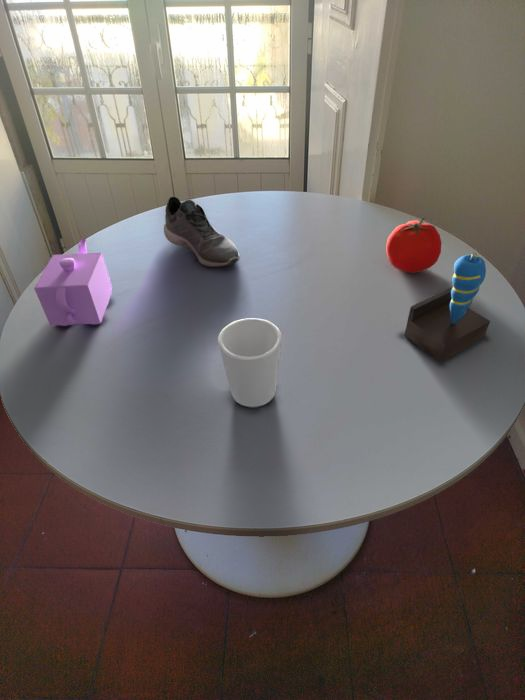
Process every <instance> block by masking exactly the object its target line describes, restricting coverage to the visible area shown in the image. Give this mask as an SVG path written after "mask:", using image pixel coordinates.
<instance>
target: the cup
mask: <svg viewBox="0 0 525 700" xmlns="http://www.w3.org/2000/svg"><path fill="white" fill-rule="evenodd" d="M282 342H283V335H282V332H281V330H280V329H279V328H278V327H277V326H276V325H275V324H274V323H273V322H271V321H269V320H267V319H262V318H255V317H254V318H252V317H250V318H242V319H238V320H234V321H232V322H231V323H229V324H227V325H226V326H225V327H223V328H222V330H221V331H220V332H219V334H218V337H217V343H218V347H219V348H218V349H219V352H220V356H221V359H222V363H223V368H224V370H225V374H226V375H225V376H226V378H227V382H228V387H229V390H230V393H231V396H232V399H233V401H234V402H235V403H236V404H237V403H238V404H240V405H241V406H244V407H246V408H250V409H251V410H255V409H257V408H259V407H261V406H264V405H266V404H268V403H271V402H272V401H273V400H274V398H275V395H276V393H277V386H278V385H277V384H278V378H279V377H278V376H279V368H280V360H281V351H282Z"/></svg>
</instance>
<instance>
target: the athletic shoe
mask: <svg viewBox="0 0 525 700" xmlns="http://www.w3.org/2000/svg"><path fill="white" fill-rule="evenodd" d="M164 216H165V217H164V218H165V219H164V221H165V223H164V226H163V234H164V236H165V238H166V240H167V241H169V242H170V243H172V244H174V245H176V246H180V247H183V248H187V249H189V250H191V251H192V252H193V253H194V254H195V256H196V258H197V260H198V262H199V263H200V264H201V265H203V266H206V267H210V268H222V267H227V266H230V265H232V264H234V263H236V262H238V261H239V260H240V259H241V255H240V252H239V250H238V248H237V246H236V245H235V244H234V242H233V241H232V240H230V238H228V237H226V236H225V235H224V234H222V233H220V232H219V231H218V230H217V229H216V228H215V227H214V226H213V224H212V223H211V222H210V220H209V219H208V217H207V215H206V213H205V209H204V208H202V206H200V204H199V203H197V204H196V202H195V201H194V200H192V199H186V200H184V201H182V202H181V201H180V199H179V198H178V197H176V196H170V197H169V198H168V200H167V203H166V206H165V215H164Z"/></svg>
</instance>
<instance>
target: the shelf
mask: <svg viewBox="0 0 525 700" xmlns="http://www.w3.org/2000/svg"><path fill="white" fill-rule="evenodd" d="M452 288H453V285H452V286H450V287H448V288H446V289H443V290H442V291H440V292H438V293H436V294H434V295H432V296H430V297H428V298H426V299H424V300H422V301H419V302H417V303H414V304H413V305H411V306H410V307H409V313H408V317H407V321H406V326H405V329H404V330H405V331H404V336H405V338H407V339H409V340H410V341H411V342H413V344H415V345H416V346H418V347H419V348H421V349H422V350H423V351H424V352H426V353H428V354H429V355H430V356H432V357H433V358H434V359H436V360H437V361H439V363H441V362H443V361H445V360H447V359H448V358H450V357H452V356H453V355H455V354H457V353H459V352H461V351H463V350H464V349H466V348H468V347H470V346H472V345H473V344H475V343H477V342H479V341H480V340H482V339H485V336H486V334H487V332H488V329H489V325H490V323H491V320H489V318H486V317H485V316H483V315H481V314H479V313H478V312H476V311H474V310H473V309H471V308H470V307H469V308H468V309H467V311H466V314H465V315H464V316H463V317H462V318H461V319H460V320H459V321H458V322H457V323H456V324H452V323H451V315H450V302H451V300H452V297H451V290H452Z"/></svg>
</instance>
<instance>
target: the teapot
mask: <svg viewBox="0 0 525 700" xmlns="http://www.w3.org/2000/svg"><path fill="white" fill-rule="evenodd" d="M77 247H78V249H77V253H62V254H53V255H52V256H51V258H50V259H49V261H48V262H47V265H46V266H45V268H44V269H43V271H42V272H41V275H40V277H39V278H38V280H37V281H36V283H35V285H34V287H33V288H34V291H35V294H36V296H37V298H38V301H39V303H40V305H41V308H42V310H43V312H44V315H45V317H46V319H47V321H48V324H49V326H62V327H68V326H71V325H72V326H73V325H93V326H94V325H95V326H96V325H99V324H101V323H102V322H103V318H104V316H105V313H106V310H107V307H108V305H109V303H110V300H111V296H112V293H113V291H114V288H113V284H112V281H111V278H110V274H109V271H108V268H107V264H106V261H105V257H104V254H103V253H102V252H88V249H87V239H86V238H82V239H81V240H79V243H78V246H77Z"/></svg>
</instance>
